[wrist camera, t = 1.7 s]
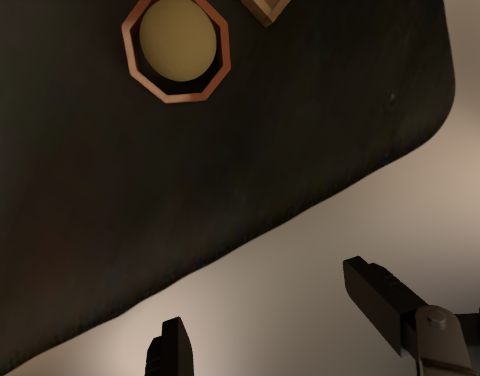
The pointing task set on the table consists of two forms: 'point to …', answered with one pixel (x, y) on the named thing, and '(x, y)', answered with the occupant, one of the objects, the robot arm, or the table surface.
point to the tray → (265, 9)
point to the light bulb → (178, 39)
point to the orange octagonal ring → (128, 33)
